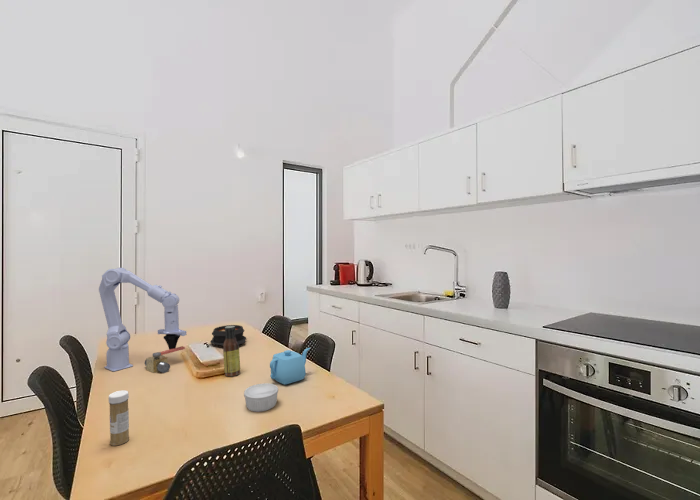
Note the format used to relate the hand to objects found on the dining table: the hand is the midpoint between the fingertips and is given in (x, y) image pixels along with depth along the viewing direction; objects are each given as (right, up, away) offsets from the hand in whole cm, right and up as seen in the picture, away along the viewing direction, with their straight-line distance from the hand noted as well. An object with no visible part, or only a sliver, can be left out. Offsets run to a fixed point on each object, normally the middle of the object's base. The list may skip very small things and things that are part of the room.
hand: (172, 350), depth 160 cm
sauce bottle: (+32, -6, -15) cm, 36 cm away
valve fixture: (-3, -6, -8) cm, 10 cm away
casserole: (+15, -5, +31) cm, 35 cm away
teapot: (+58, -5, -21) cm, 62 cm away
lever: (0, 0, -4) cm, 4 cm away
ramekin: (+52, -6, -44) cm, 68 cm away
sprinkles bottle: (+18, -7, -64) cm, 67 cm away
